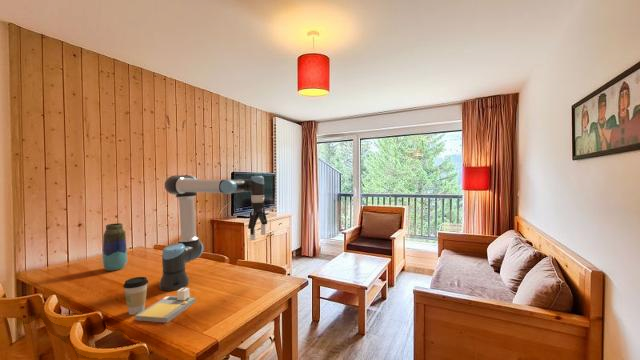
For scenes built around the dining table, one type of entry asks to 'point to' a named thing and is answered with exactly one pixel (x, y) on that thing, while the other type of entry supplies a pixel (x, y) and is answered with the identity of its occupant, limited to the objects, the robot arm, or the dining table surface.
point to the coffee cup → (135, 294)
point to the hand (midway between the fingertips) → (258, 237)
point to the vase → (114, 247)
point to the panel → (165, 309)
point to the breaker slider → (183, 294)
